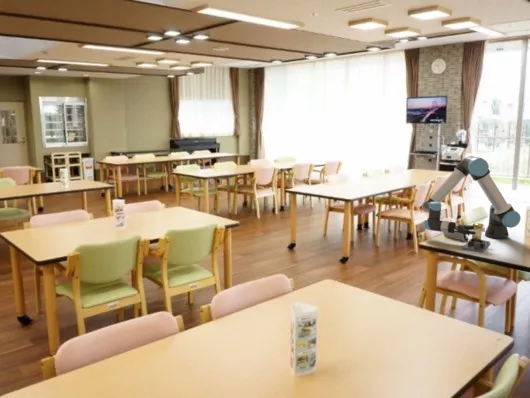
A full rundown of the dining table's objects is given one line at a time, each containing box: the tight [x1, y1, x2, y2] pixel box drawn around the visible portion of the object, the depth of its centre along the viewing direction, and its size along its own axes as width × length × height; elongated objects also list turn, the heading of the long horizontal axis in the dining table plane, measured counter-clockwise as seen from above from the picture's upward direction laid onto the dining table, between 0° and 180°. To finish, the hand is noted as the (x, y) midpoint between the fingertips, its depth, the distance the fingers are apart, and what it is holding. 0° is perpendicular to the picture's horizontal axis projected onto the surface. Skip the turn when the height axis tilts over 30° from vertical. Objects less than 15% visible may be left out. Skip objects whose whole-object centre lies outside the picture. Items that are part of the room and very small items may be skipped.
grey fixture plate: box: [462, 235, 491, 253], centre depth 315 cm, size 27×12×5 cm, turn 147°
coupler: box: [472, 222, 485, 243], centre depth 314 cm, size 6×6×14 cm
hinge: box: [443, 224, 469, 241], centre depth 337 cm, size 17×5×10 cm, turn 31°
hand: (483, 231), depth 312 cm, fingers open, 13 cm apart
